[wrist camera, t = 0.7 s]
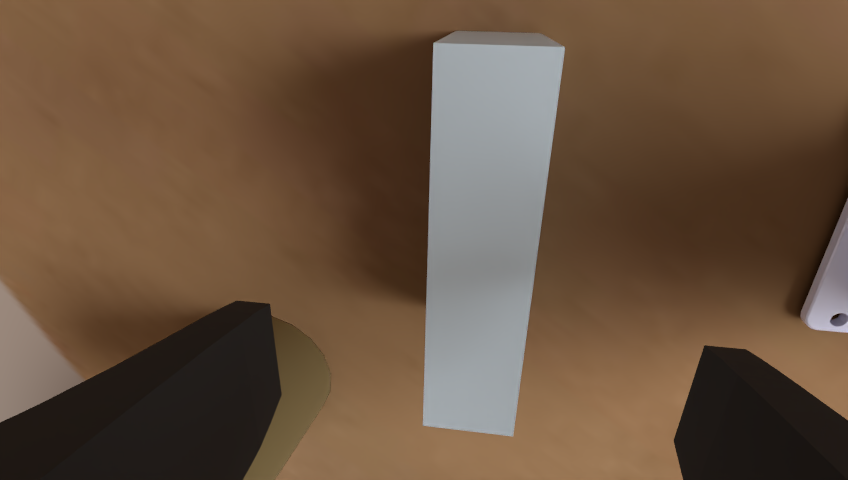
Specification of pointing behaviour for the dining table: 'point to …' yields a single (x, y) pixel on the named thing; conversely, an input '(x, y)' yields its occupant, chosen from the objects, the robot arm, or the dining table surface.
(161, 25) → the dining table surface
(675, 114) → the dining table surface
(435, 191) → the pale blue rectangular brick
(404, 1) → the dining table surface
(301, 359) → the cork
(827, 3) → the dining table surface
